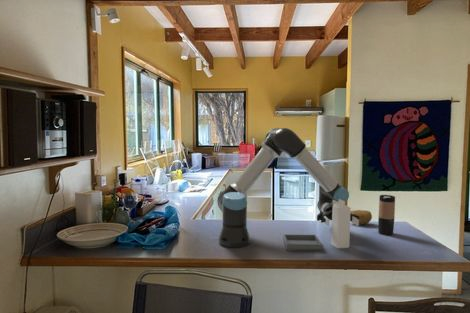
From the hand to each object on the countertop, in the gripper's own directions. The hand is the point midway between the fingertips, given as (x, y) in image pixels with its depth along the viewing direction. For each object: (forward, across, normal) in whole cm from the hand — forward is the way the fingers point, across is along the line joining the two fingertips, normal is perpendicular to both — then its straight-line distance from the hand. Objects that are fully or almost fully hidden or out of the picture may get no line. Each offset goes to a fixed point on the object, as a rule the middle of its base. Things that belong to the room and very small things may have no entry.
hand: (343, 222), depth 148 cm
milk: (-3, 0, -12) cm, 13 cm away
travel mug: (-23, -30, -12) cm, 40 cm away
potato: (-40, -22, -12) cm, 47 cm away
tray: (-3, +18, -12) cm, 22 cm away
